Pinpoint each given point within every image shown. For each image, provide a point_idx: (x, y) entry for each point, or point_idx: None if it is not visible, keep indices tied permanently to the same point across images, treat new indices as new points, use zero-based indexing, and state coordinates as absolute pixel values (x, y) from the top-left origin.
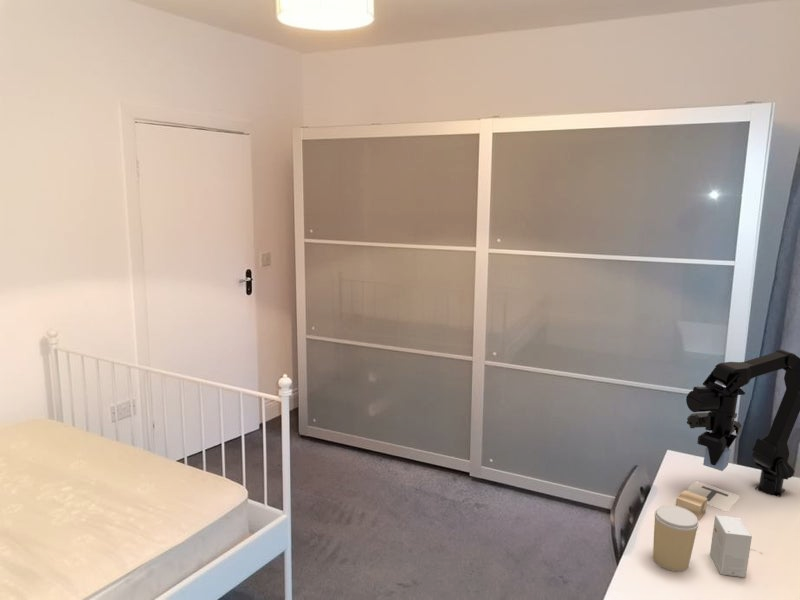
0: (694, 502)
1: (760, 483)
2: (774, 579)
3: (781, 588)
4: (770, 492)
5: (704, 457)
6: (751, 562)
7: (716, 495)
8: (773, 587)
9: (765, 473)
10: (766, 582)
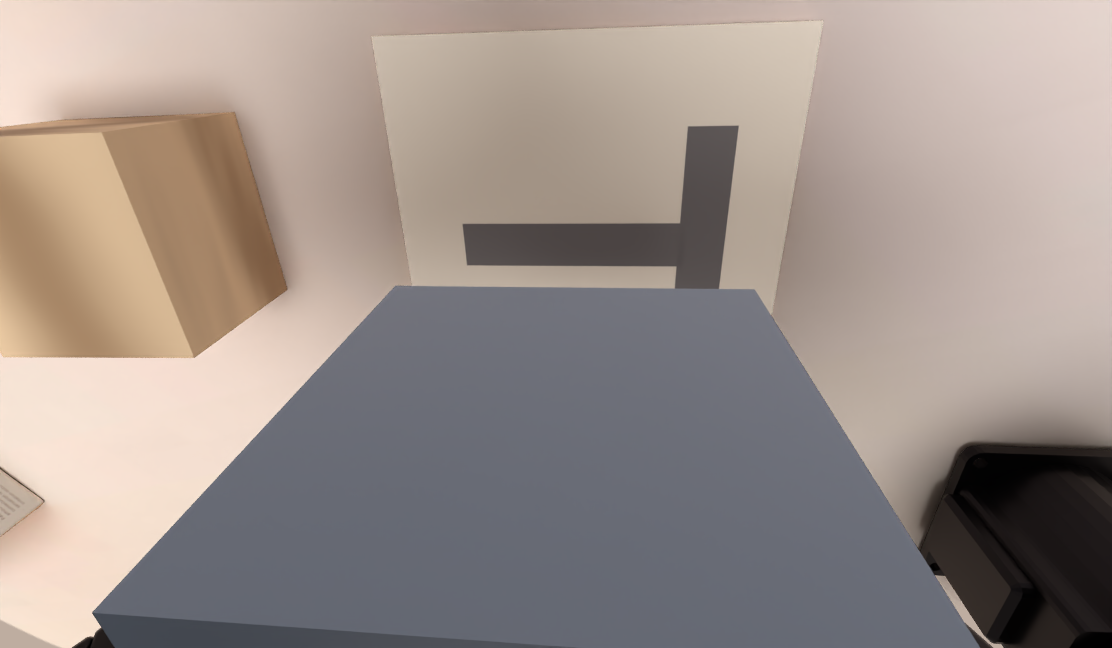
0: (3, 301)
1: (1038, 504)
2: (85, 616)
3: (61, 634)
4: (932, 548)
5: (318, 375)
6: (96, 552)
7: (626, 277)
8: (36, 618)
9: (1073, 640)
10: (36, 601)
